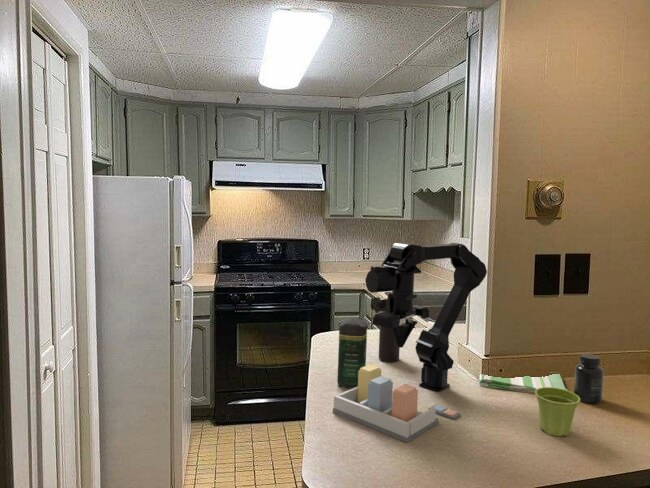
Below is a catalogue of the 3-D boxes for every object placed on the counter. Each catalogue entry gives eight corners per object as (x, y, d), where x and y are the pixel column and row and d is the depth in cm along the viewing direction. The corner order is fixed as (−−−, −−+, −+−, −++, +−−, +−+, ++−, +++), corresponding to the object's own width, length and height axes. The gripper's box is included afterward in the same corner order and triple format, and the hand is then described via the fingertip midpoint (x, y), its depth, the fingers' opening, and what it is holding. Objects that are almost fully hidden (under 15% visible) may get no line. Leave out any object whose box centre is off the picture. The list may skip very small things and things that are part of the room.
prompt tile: (460, 415, 122) (460, 412, 122) (453, 419, 119) (453, 416, 119) (435, 406, 126) (435, 403, 126) (428, 410, 124) (428, 407, 124)
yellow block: (380, 399, 127) (381, 367, 126) (368, 405, 123) (369, 371, 122) (369, 395, 129) (370, 363, 128) (357, 401, 125) (358, 368, 125)
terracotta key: (416, 423, 114) (418, 387, 113) (404, 430, 110) (405, 393, 109) (403, 418, 116) (405, 383, 115) (391, 425, 112) (392, 388, 112)
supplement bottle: (600, 397, 135) (603, 354, 134) (602, 406, 129) (606, 362, 128) (572, 392, 138) (575, 351, 137) (573, 401, 132) (576, 357, 131)
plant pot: (575, 444, 108) (578, 406, 107) (529, 433, 113) (531, 396, 112) (579, 428, 116) (582, 392, 115) (536, 418, 121) (538, 384, 120)
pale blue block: (391, 414, 118) (392, 379, 118) (379, 420, 115) (380, 384, 114) (379, 409, 121) (380, 375, 120) (367, 415, 117) (368, 380, 116)
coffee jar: (363, 390, 136) (366, 324, 134) (335, 388, 137) (337, 322, 136) (366, 378, 146) (368, 316, 144) (339, 375, 147) (341, 314, 145)
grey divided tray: (438, 422, 117) (439, 406, 117) (406, 442, 107) (407, 424, 107) (366, 396, 132) (367, 382, 131) (332, 411, 122) (333, 396, 121)
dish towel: (569, 400, 134) (569, 390, 134) (479, 388, 141) (479, 379, 141) (558, 378, 151) (559, 369, 151) (478, 368, 158) (479, 360, 158)
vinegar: (402, 358, 164) (404, 299, 162) (393, 364, 159) (396, 302, 157) (383, 354, 168) (386, 297, 166) (374, 360, 162) (377, 300, 160)
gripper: (397, 282, 144) (395, 334, 145) (357, 289, 130) (355, 347, 132) (431, 287, 136) (428, 342, 138) (392, 296, 123) (389, 357, 124)
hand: (400, 347), depth 133 cm, fingers closed
